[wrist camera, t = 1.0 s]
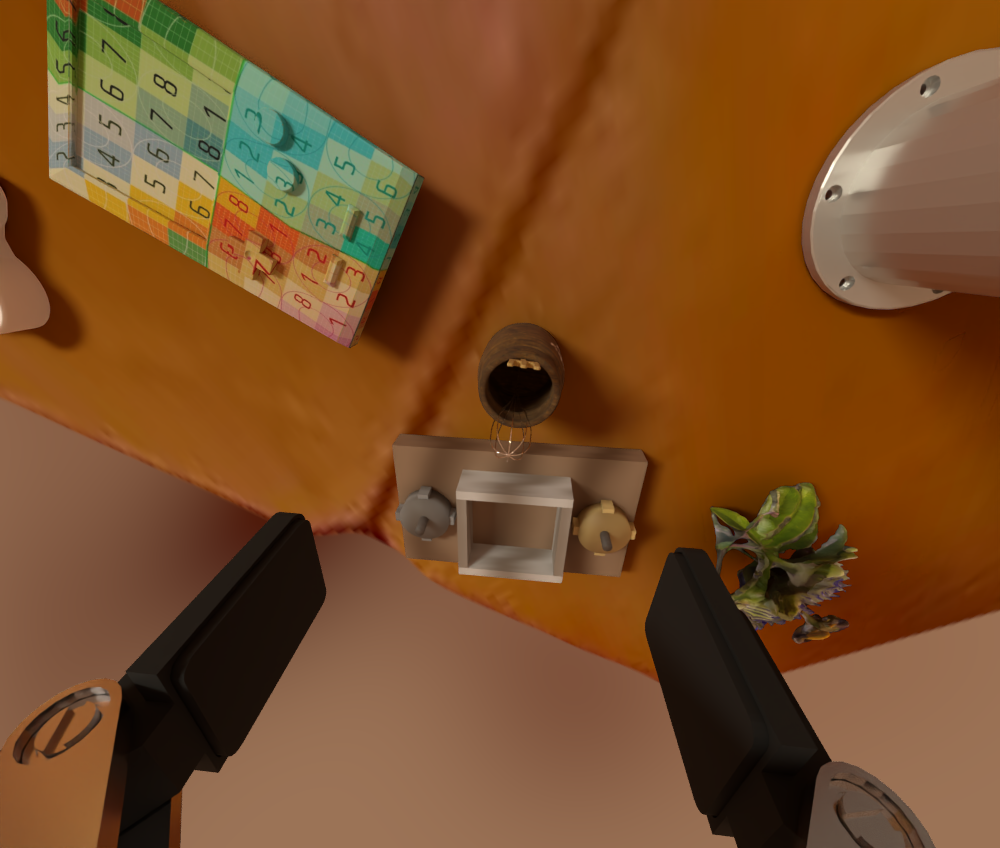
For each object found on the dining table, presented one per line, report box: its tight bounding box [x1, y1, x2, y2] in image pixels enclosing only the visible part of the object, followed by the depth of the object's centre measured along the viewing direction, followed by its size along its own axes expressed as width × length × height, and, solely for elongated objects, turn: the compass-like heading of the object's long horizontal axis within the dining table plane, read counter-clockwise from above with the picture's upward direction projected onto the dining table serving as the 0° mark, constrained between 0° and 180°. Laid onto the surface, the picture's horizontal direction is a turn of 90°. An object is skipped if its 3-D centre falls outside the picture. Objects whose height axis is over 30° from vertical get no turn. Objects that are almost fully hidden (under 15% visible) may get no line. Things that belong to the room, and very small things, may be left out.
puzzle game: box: [47, 0, 424, 348], centre depth 23 cm, size 12×5×20 cm
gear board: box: [392, 434, 648, 583], centre depth 32 cm, size 21×13×5 cm, turn 89°
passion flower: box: [710, 483, 858, 643], centre depth 30 cm, size 11×11×12 cm
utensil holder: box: [478, 323, 564, 462], centre depth 23 cm, size 6×6×12 cm
